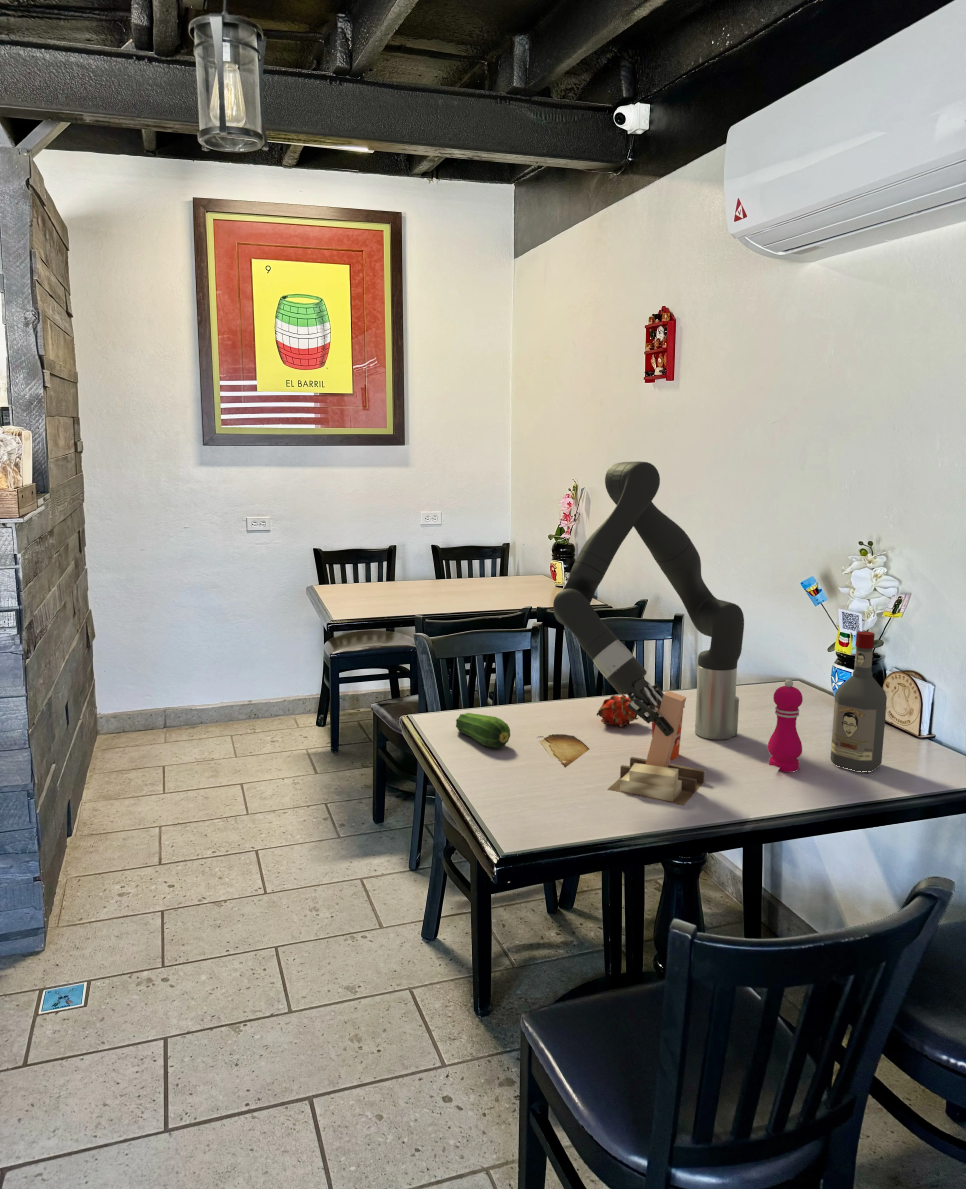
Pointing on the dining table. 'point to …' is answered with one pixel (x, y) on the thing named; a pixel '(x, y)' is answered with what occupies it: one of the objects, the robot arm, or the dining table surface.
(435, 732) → the dining table surface
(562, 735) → the parchment
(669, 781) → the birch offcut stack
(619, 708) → the dragon fruit
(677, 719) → the terracotta block
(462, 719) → the vegetable
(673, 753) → the paper cup
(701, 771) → the walnut rack
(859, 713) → the liquor
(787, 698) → the pepper mill
